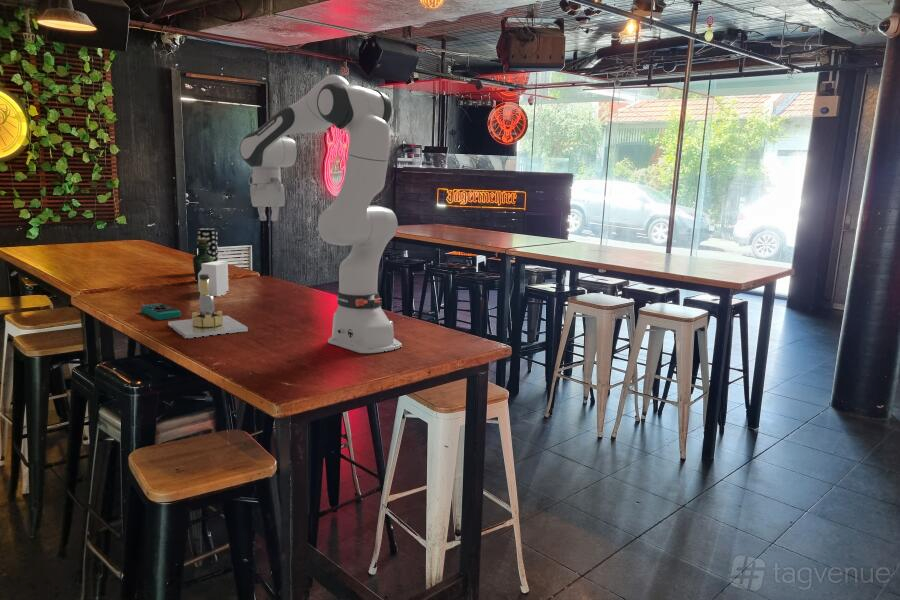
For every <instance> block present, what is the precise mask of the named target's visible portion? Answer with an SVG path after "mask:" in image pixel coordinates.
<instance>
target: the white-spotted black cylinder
mask: <svg viewBox="0 0 900 600" xmlns="http://www.w3.org/2000/svg"><path fill="white" fill-rule="evenodd" d="M196 233H197V234H196V235H197V237H196V238H197V239H198V238H206V239H207V242H206V244H209V246H210V247H209V248H207V253H206V254H208V255H210V256H212V258H213V262H214V261H219V249H218V248H219V245H218V244H219V242H218V229H217V228H215V227H214V228H213V227H212V228H211V227H210V228H209V227H202V228H197V229H196ZM197 244H199V243H198V242H197ZM198 254H199V251H198V250H197V255H198Z"/></svg>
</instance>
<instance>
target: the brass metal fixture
mask: <svg viewBox="0 0 900 600" xmlns="http://www.w3.org/2000/svg"><path fill="white" fill-rule="evenodd" d="M199 278H200V293H199V294H200V295H209V274H200V275H199ZM200 295H199V296H200ZM197 313H198V314H197ZM223 316H224V315H223V311H222V310H217V311H216V312H215V311H214V317H212V315H211V314H205V318H202V317H200V312H197V311H194V312H193V311H192V312H191V319H192V323H193V325H194V326H198V327H213V326H218V325H221V324H223Z"/></svg>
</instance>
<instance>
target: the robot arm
mask: <svg viewBox="0 0 900 600" xmlns="http://www.w3.org/2000/svg"><path fill="white" fill-rule="evenodd" d="M392 109H393V108H392V102H391V100H390V97H388V95H387V94H386V93H384V92H383V91H380V90H377V89H370V88H368V87H364V86H360V85H358V84H350V83H349V81H348V80H347V79H345V78H344V77H343V76H342V75H341V76H340V75H339V74H329V75H327V76H325V77H324V78H323V79H321V80H320V81H318V82H317V83H316V84H315V85H314V86H313V87H312V88H311V89H310V90H309V91H308V92H307V93H306V94H305V95H304V96H303V97H301V98H300V99H299V100H298V101H296V102H295V103H292V104H291V105H289V106H287V107H284V108H283V109H281V110H279V111H278V112H277V113H276V114H273V116H271V117H270V118H269V119H268V120H267V121H265V123H264V124H262V125H261V126H259V127H258V128H255V129H254V131H252V132H249V133H247V134H246V135H245V136H244V137H243V138H242V140H241V142H240V145H239V155H240V156H241V158H242V160H243V161H244V162H245V163H246V164H247V165H248V166H249V167H252V173H251V175H250V177H249V178H248V185H250V188H249V190H250V191H249V192H250V202H251V205H252V207H254V208H257V212H258V216H259V220H260V221H261V222H263V221H264V222H265V221H267V215H266V208H267V207H268V208H270V207H271V208H270V209H271V215H270V221H272V222H277V221H278V220H279V219H278V218H279V217H278V216H279V213H280V207H285V205H286V204H285V203H286V196H285V188H284V184H282V174H281V173H282V172H281V171H282V170H281V168H289V167H293V166H295V165H296V163H297V162H298V160H299V159H300V158H299V156H300V150H299V146H298V143H297V142H296V140H295V139H293V138H291V137H288V135H294V134H309V133H311V134H312V133H313V134H314V133H321V132H324V131H325V130H327V129H329V128H330V127H332V126H335V128H337V129H339V130H343V129H344V128H346V129H347V131H348V133H349V146H348V151H347V152H348V154H347V161H346V166H345V171H344V172H345V173H344V179H343V182H342V185H341V188H340V190H339V192H338V194H337V196H336V198H334V200H333V201H332V203H331V204H330V205H329V206H328V207H327V208H326V209H324V210H323V211H322V212H321V214H320V215H319V218H318V221H317V229H318V233H319V236H320V238H321V239H322V240H323V241H324V242H325V243H327V244H330V245H336V246H341V247H343V246H352V248H351V251H350V252H349V254H348V255H347V257H346V258H345V259H343V260H342V261H341V263H340V264H339V268H338V269H339V270H338V271H339V272H338V291H337V296H336V301H337V303H336V304H337V305H338V307H337V309H336V310H335V312H334V313H333V318H332V329H331V330H332V331H331V336H330V337H329V338H328V340H327V343H328V344H331V345H335V346H337V347H340V348H343V349H346V350H350V351H352V352H355V353H359V354H377V353H384V351H385V352H390V351H395V350H398V349H400V347H401V348H402V347H403V344H402V342H400V341H399V340H397V339H396V338H395V337H394V336H395V335H394V322H393V321H392V320H390V319H389V318H388V316H387V315H386V313H385V312H384V310H383V309H382V307H381V306H382V297H380V293H379V292H378V281H379V269H380V268H379V267H380V263H381V262H380V261H381V258H382V257H383V253H384V251H385V248H386V247H387V245H388V244H389V242H390V241H391V240H392V239H393V238H394V237H395V235H396V234H397V232H398V231H397V230H398V227H399V225H398V219H397V216H396V215H397V214H396V213H395V212H394V211H393V210H392V209H391V208H388V207H385V206H380V205H371V202H372V201H373V199H374V197H376V196H377V195H378V194H380V193H381V192H382V190H383V189H384V188H385V183H386V178H387V171H388V163H389V156H390V143H391V142H390V126H389V124H388V123H389V121H390V119H391V116H392V111H393V110H392ZM394 349H395V350H394Z"/></svg>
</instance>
